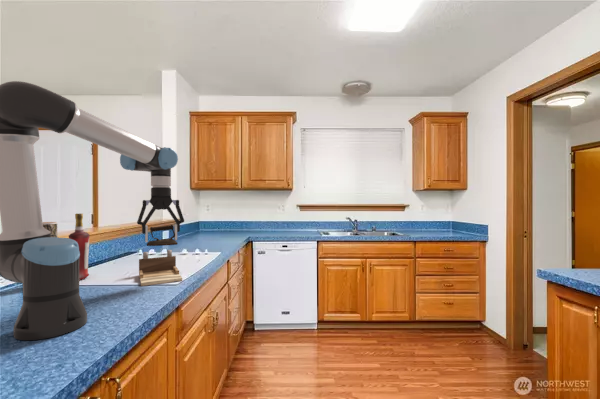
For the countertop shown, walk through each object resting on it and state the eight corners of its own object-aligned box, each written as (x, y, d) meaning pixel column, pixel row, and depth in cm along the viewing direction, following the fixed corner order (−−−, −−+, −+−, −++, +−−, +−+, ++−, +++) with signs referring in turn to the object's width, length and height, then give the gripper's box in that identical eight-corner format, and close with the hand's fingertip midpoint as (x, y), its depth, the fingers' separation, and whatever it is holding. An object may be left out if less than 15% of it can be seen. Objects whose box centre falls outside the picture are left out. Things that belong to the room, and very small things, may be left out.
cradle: (182, 280, 128) (182, 256, 128) (141, 286, 120) (141, 260, 120) (175, 270, 145) (175, 249, 145) (139, 275, 138) (138, 252, 138)
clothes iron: (179, 245, 127) (174, 222, 125) (150, 254, 121) (144, 230, 118) (174, 241, 133) (169, 220, 130) (146, 250, 126) (140, 227, 124)
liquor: (67, 278, 132) (67, 213, 132) (88, 275, 137) (87, 213, 137) (69, 282, 126) (69, 214, 126) (91, 278, 131) (90, 213, 131)
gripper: (188, 187, 135) (188, 237, 135) (129, 187, 124) (129, 241, 124) (191, 187, 129) (192, 239, 129) (129, 186, 117) (129, 244, 117)
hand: (161, 240), depth 126 cm, fingers closed on clothes iron, 10 cm apart
